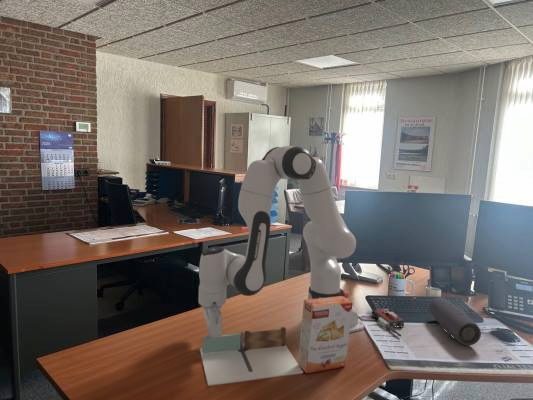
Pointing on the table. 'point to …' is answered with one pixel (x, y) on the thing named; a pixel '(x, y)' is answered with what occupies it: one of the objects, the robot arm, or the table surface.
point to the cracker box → (324, 333)
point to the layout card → (248, 365)
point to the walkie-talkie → (388, 319)
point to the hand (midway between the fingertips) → (211, 337)
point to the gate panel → (223, 343)
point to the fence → (264, 339)
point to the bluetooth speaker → (455, 321)
